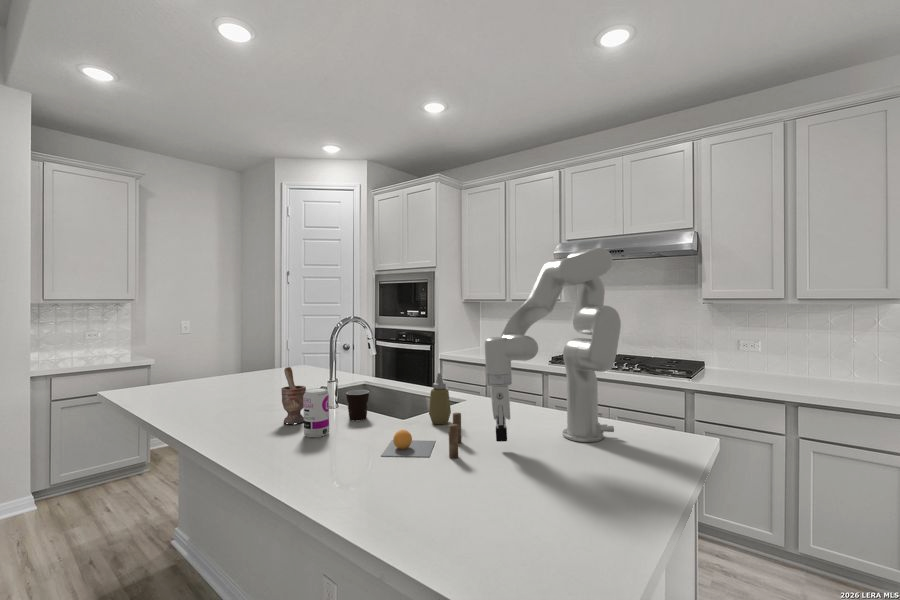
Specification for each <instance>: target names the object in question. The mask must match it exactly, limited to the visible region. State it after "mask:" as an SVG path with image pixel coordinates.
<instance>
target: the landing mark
mask: <svg viewBox="0 0 900 600" xmlns="http://www.w3.org/2000/svg"><path fill="white" fill-rule="evenodd" d="M435 444H436V440H421V439H420V440H419V439H418V440H415V439H414V440H413V439H412V442H411V445H410V446H409V447H408V448H406V449H399V448H397V447H396V446H395V445H394V442H393V439H392V440H391V441H390V442H389V443H388V445H387V447H386V448H385V449H384V451H383V452H382V453H381V455H380V457H385V456H392V458H393V456H394V457H395V458H398V457H399V458H400V457H401V458H403V457H404V458H411V457H412V458H430V456H431V453H432V450H433V449H434V446H435Z"/></svg>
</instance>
